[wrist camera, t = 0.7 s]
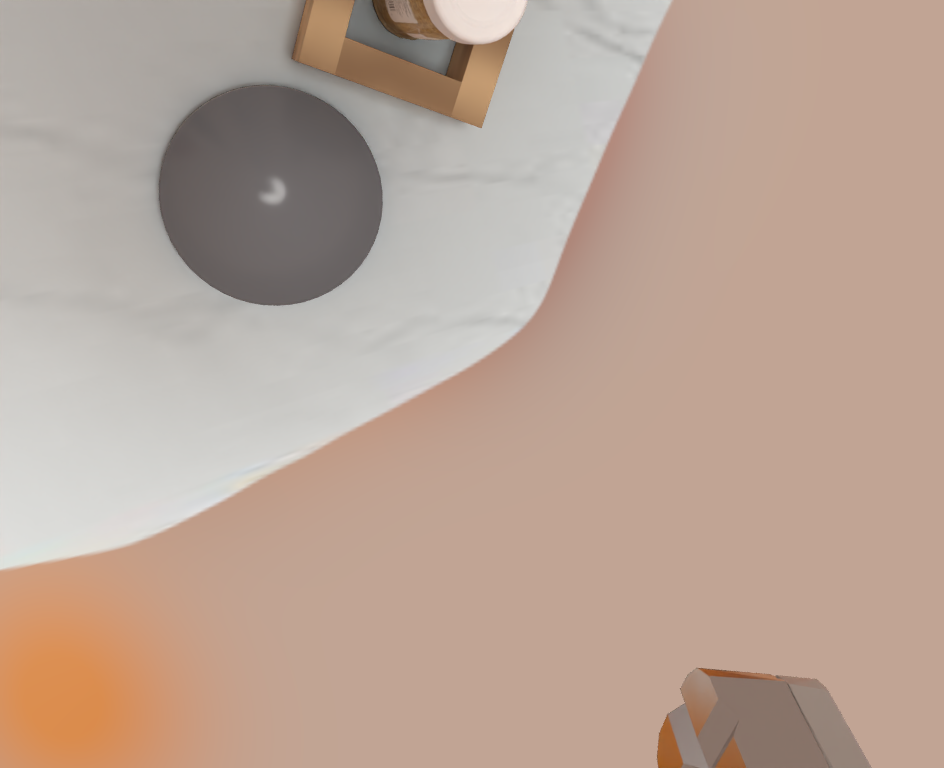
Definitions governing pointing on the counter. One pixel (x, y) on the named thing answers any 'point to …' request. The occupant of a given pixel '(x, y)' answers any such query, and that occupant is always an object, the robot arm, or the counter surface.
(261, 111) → the slate coaster
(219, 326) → the counter surface
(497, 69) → the frame
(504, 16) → the sprinkles bottle
